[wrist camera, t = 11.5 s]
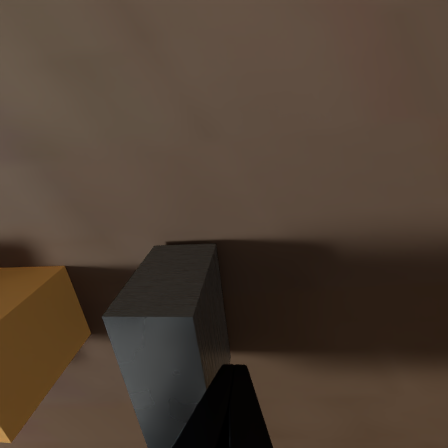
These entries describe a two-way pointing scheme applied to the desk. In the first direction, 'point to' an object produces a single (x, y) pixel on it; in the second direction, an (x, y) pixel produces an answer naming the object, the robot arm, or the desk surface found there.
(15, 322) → the block
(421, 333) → the desk surface
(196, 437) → the robot arm
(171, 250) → the gray rectangular block
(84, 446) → the desk surface
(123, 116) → the desk surface
